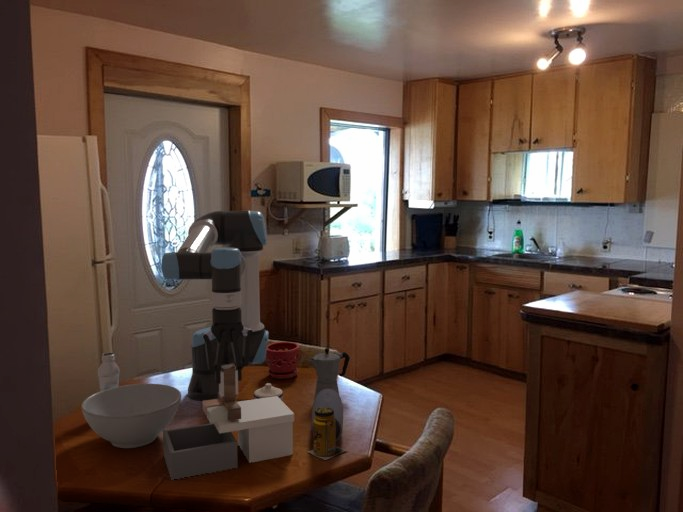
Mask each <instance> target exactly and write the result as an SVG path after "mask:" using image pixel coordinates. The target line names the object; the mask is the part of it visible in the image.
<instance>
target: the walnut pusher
mask: <svg viewBox="0 0 683 512" xmlns="http://www.w3.org/2000/svg"><path fill="white" fill-rule="evenodd" d="M235 368H236V366H235V365H225V366H221V369H222V371H223V372H224V396H223V397H221V395H220V394H219V392H218V399H220V401H221V402H222V404H223V405H224V407H225V408H226V409H227V411H228V419H229V420H230V421H231V420H237V419H241V407H240V406H239V404H238V403H237V402H238V401H237V398H236V386H235Z"/></svg>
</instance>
